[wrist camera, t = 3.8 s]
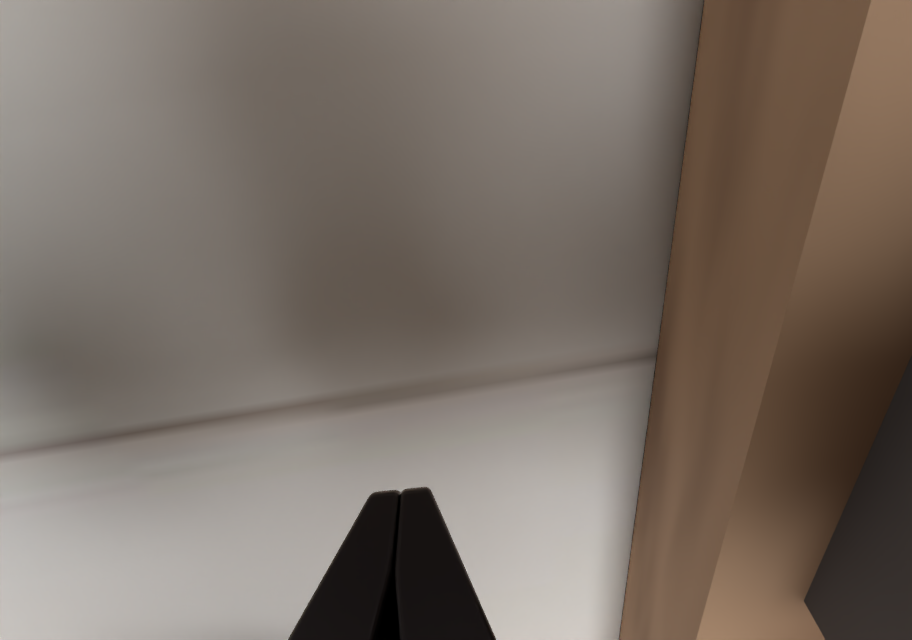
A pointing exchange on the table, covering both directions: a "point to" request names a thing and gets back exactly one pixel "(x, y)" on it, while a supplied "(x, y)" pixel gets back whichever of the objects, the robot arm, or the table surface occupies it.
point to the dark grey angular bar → (873, 541)
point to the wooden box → (775, 313)
